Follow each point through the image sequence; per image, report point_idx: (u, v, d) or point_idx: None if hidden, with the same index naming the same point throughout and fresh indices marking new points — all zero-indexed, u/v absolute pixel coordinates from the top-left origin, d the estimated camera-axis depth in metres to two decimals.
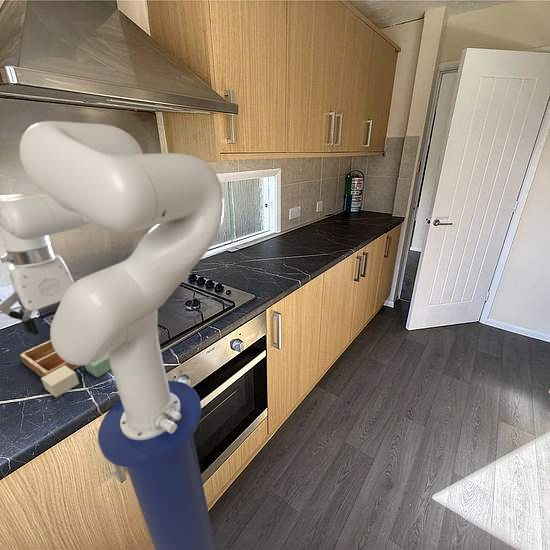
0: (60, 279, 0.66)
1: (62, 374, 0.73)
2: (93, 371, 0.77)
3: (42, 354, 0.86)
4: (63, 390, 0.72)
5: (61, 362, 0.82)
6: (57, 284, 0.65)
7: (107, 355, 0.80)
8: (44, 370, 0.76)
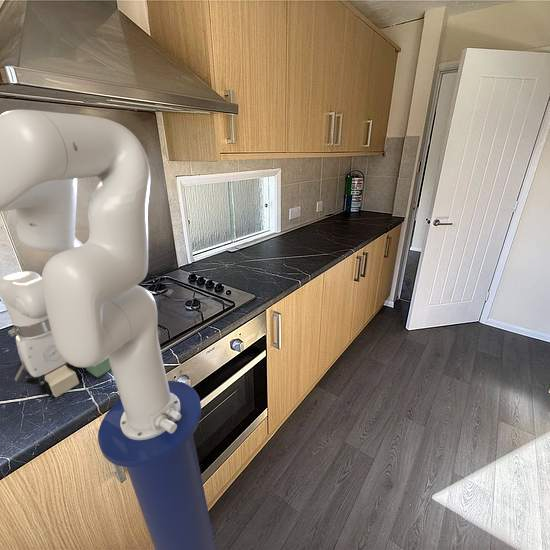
0: None
1: (62, 375, 0.73)
2: (93, 371, 0.77)
3: None
4: (63, 390, 0.72)
5: None
6: None
7: None
8: None
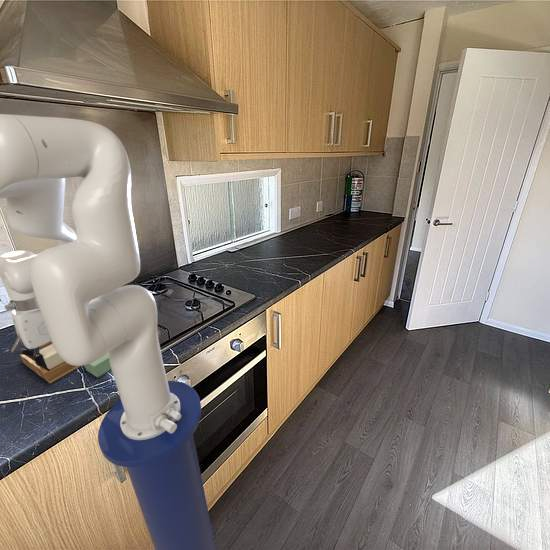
0: None
1: None
2: (93, 371, 0.77)
3: None
4: (56, 363, 0.77)
5: None
6: None
7: (107, 355, 0.80)
8: (44, 370, 0.76)
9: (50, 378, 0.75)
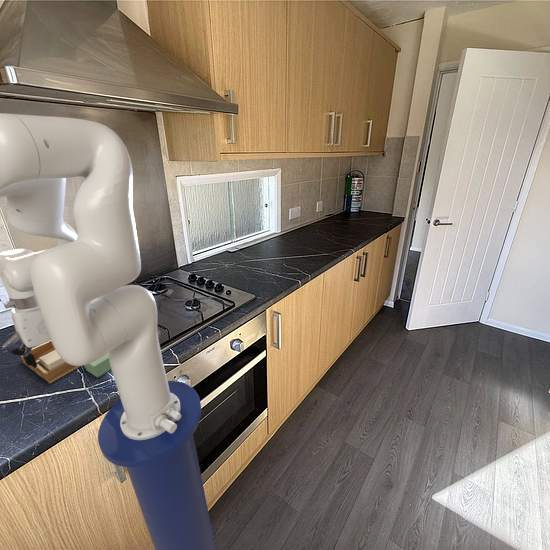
0: None
1: (58, 355, 0.79)
2: (93, 371, 0.77)
3: (42, 354, 0.86)
4: None
5: None
6: None
7: (107, 355, 0.80)
8: (44, 370, 0.76)
9: (50, 378, 0.75)
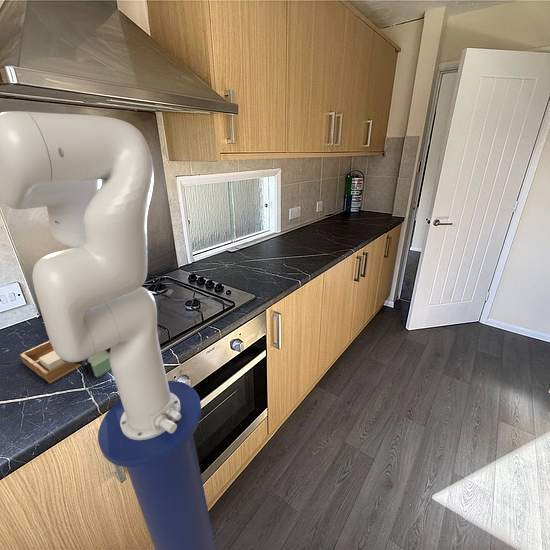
0: None
1: None
2: (93, 371, 0.77)
3: (42, 354, 0.86)
4: None
5: None
6: None
7: (107, 355, 0.80)
8: (44, 370, 0.76)
9: (50, 378, 0.75)
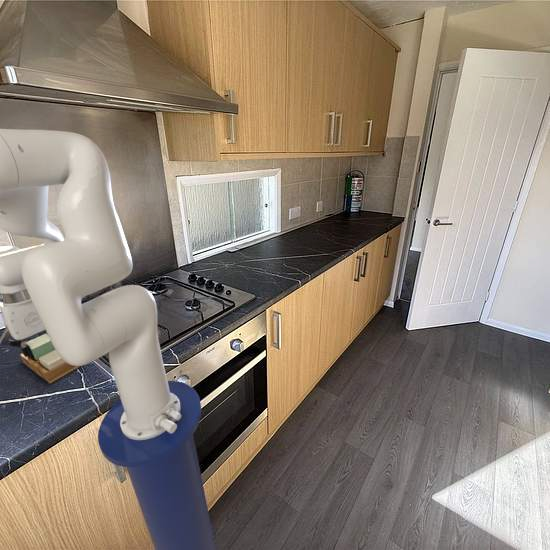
0: None
1: (58, 355, 0.79)
2: (33, 354, 0.80)
3: None
4: None
5: None
6: None
7: (48, 339, 0.83)
8: (44, 370, 0.76)
9: (50, 378, 0.75)
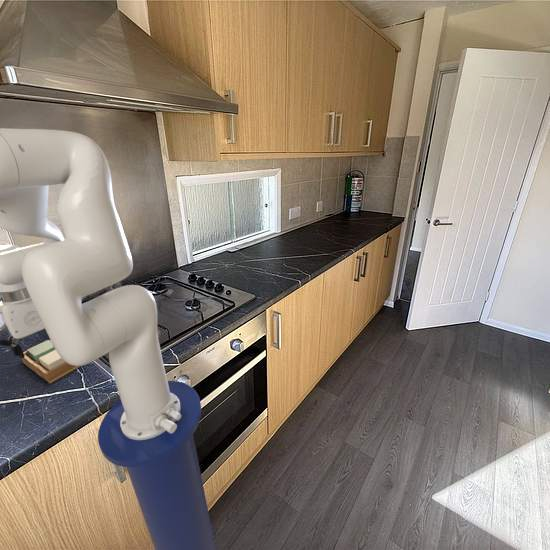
0: None
1: (58, 355, 0.79)
2: (35, 360, 0.81)
3: None
4: None
5: None
6: (40, 315, 0.79)
7: (51, 345, 0.84)
8: (44, 370, 0.76)
9: (50, 378, 0.75)
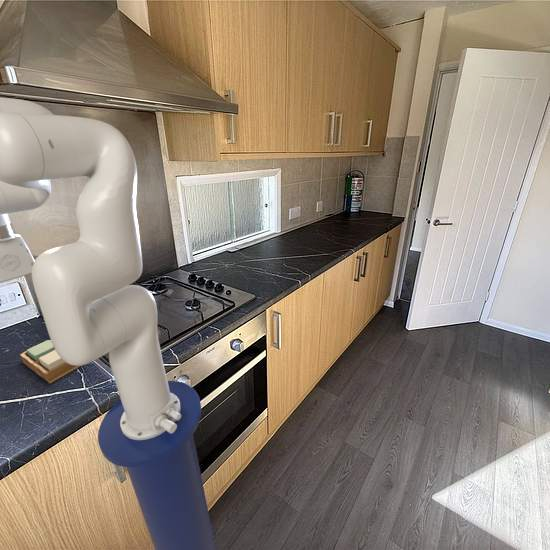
0: (20, 256, 0.73)
1: (58, 355, 0.79)
2: (35, 360, 0.81)
3: None
4: None
5: None
6: (17, 260, 0.72)
7: (51, 345, 0.84)
8: (44, 370, 0.76)
9: (50, 378, 0.75)
